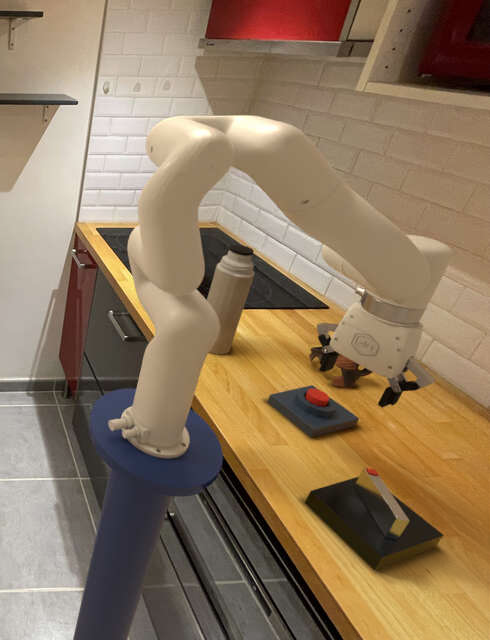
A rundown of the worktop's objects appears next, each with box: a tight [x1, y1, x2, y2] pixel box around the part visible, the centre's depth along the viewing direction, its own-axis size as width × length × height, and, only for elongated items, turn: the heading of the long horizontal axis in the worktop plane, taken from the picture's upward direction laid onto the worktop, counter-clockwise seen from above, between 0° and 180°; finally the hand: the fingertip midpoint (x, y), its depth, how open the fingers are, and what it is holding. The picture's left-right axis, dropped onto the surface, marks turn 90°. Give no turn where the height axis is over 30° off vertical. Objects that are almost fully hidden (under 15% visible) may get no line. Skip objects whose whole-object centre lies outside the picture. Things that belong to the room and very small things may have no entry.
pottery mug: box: [308, 346, 373, 388], centre depth 106 cm, size 12×10×8 cm
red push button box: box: [267, 384, 360, 438], centre depth 94 cm, size 12×10×4 cm
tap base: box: [304, 476, 445, 571], centre depth 72 cm, size 13×11×3 cm
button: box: [305, 388, 330, 407], centre depth 93 cm, size 4×4×2 cm
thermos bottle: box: [206, 244, 255, 355], centre depth 111 cm, size 8×8×28 cm
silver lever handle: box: [354, 467, 409, 540], centre depth 71 cm, size 9×2×5 cm, turn 165°
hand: (353, 386), depth 82 cm, fingers open, 9 cm apart
